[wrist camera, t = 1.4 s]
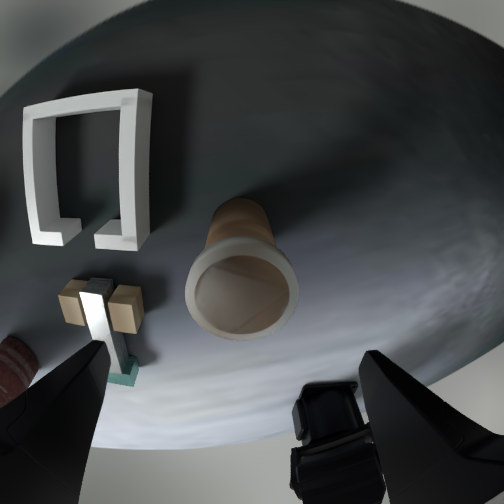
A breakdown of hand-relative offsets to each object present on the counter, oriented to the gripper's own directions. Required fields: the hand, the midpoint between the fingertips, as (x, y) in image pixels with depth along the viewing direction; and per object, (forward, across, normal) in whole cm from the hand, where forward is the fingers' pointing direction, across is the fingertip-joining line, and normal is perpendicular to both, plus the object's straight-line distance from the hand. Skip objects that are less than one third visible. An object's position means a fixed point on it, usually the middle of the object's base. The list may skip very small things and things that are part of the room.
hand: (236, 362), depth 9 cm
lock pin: (+12, +11, +9) cm, 19 cm away
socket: (+12, +11, -4) cm, 17 cm away
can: (+13, +27, +18) cm, 35 cm away
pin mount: (+12, +11, +7) cm, 18 cm away
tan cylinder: (+12, 0, 0) cm, 13 cm away
